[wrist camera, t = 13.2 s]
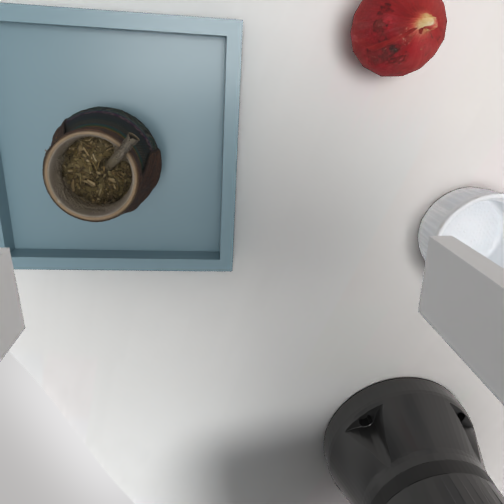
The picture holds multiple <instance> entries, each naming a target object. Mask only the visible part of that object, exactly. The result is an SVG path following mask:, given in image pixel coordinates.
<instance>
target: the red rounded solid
mask: <svg viewBox="0 0 504 504" xmlns="http://www.w3.org/2000/svg"><path fill="white" fill-rule="evenodd" d="M446 24H447V18H446V12H445V6H444V3H443V1H442V0H362V2H361V4H360V5H359V7H358V9H357V11H356V12H355V14H354V18H353V23H352V28H351V40H352V47H353V52H354V54H355V55H356V57H357V58H358V60H359V61H360V63H361V64H362V66H363V67H365V68H367V69H369V70H370V71H372V72H374V73H376V74H378V75H380V76H404V75H406V74H408V73H411V72H413V71H416V70H418V69H420V68H421V67H422V66H424V65H425V64H426V63H427V62H428V61H429V60H430V59H431V58H432V57H433V56H434V55H435V53H436V52H437V50H438V48H439V47H440V45H441V43H442V42H443V40H444V37H445V30H446Z"/></svg>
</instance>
